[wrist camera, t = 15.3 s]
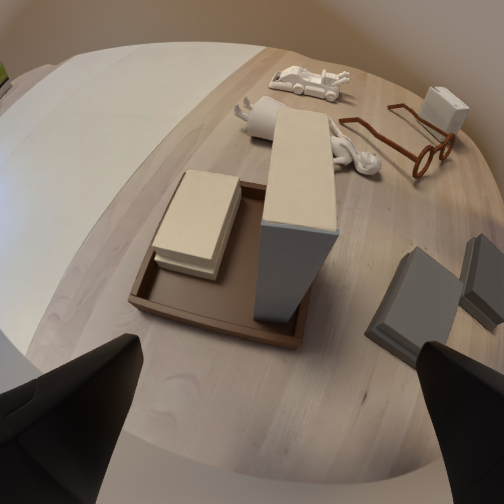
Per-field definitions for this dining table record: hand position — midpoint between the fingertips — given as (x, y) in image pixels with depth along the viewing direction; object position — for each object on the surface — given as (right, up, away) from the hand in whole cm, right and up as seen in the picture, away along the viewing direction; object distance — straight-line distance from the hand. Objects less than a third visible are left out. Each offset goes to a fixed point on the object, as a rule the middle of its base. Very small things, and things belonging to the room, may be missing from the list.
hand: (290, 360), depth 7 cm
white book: (+1, +1, +14) cm, 14 cm away
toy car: (+8, +29, +30) cm, 42 cm away
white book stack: (-5, +5, +16) cm, 18 cm away
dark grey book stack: (+24, -1, +15) cm, 28 cm away
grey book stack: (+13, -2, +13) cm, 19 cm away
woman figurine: (+5, +15, +23) cm, 28 cm away
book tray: (-3, +3, +16) cm, 16 cm away
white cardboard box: (+30, +24, +27) cm, 47 cm away
